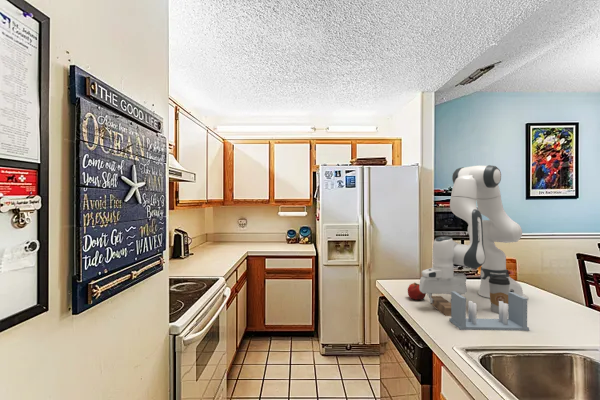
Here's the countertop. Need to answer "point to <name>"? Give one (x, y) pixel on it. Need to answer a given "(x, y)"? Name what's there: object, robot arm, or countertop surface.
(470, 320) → the shelf stand
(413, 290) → the tomato
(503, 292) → the coffee cup
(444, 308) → the shelf board
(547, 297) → the countertop surface
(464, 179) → the robot arm
